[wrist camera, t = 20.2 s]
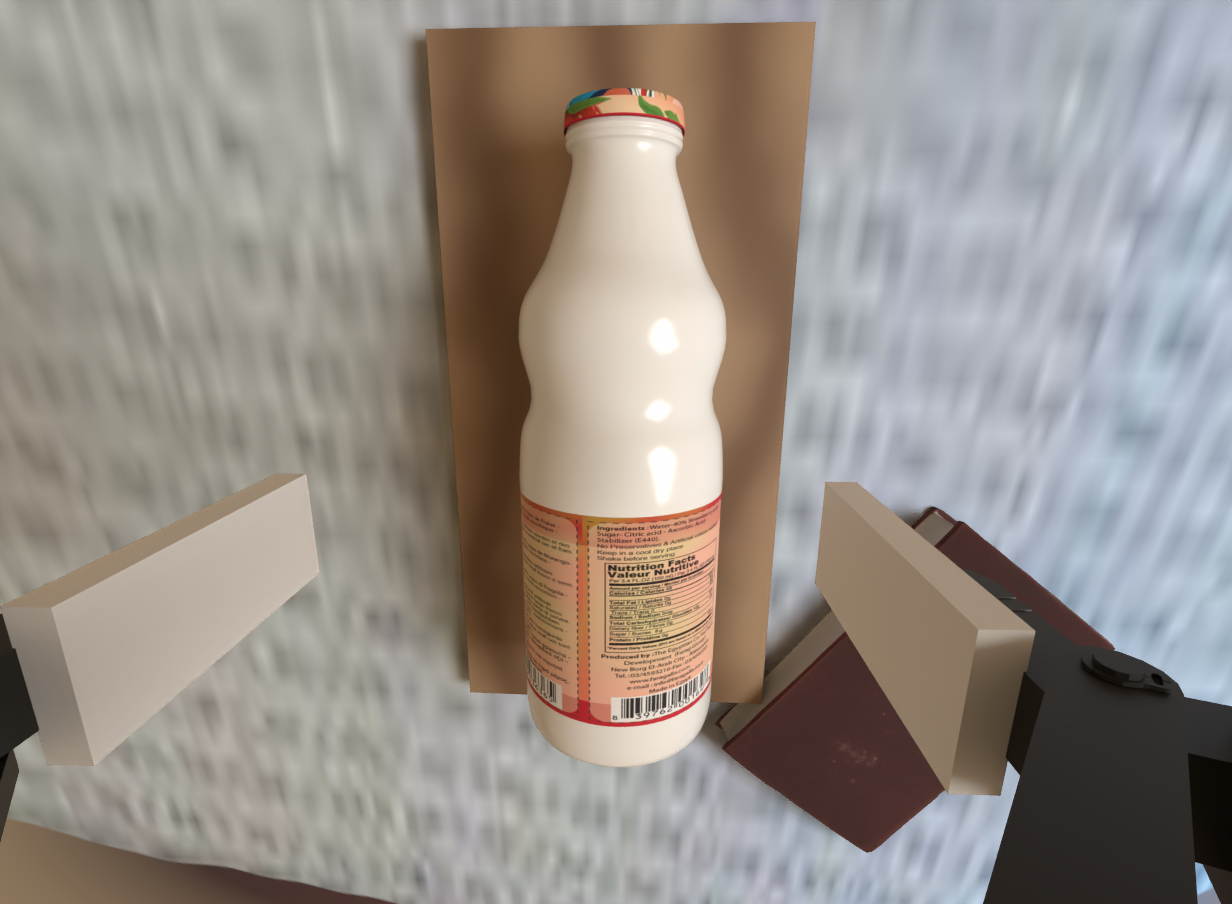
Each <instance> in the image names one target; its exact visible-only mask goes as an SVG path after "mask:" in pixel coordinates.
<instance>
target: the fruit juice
mask: <svg viewBox="0 0 1232 904" xmlns="http://www.w3.org/2000/svg"><path fill="white" fill-rule="evenodd" d="M684 135H685V122H684V112H683V107H682V105H681V103H680V102H679V101H678V100H677V99H675V98H674V97H672V96H670V95H667V94H664V93H661V92H657V91H653V90H647V89H638V88H609V89H601V90H595V91H591V92H587V93H584V94H581V95H579V96H577V97H575V98H573V99H572V100H571V101H570V102H569V103H568V105H567V107H566V111H565V119H564V136H565V140H566V144H565V147H566V149H567V152H568V153H569V154H570V155H571V156H572V170H571V175H570V180H569V184H568V187H567V191H566V195H565V198H564V202H563V206H562V209H561V213H560V216H559V220H558V223H557V226H556V230H555V233H554V236H553V239H552V242H551V245H550V248H549V251H548V253H547V256H546V259H545V261H544V263H543V265H542V267H541V269H540V271H539V272H538V274H537V276H536V278H535V279H534V281H533V283H532V284H531V286H530V288H529V289H528V291H527V293H526V295H525V297H524V299H523V302H522V305H521V310H520V315H519V346H520V351H521V355H522V359H523V362H524V365H525V369H526V372H527V375H528V379H529V382H530V386H531V404H530V408H529V411H528V414H527V416H526V419H525V421H524V424H523V428H522V433H521V443H520V470H519V477H520V495H521V519H522V550H523V581H524V611H525V641H526V671H527V695H528V701H529V707H530V712H531V715H532V718H533V720H534V723H535V725H536V727H537V729H538V730H539V732H540V733H541V735H542V736H543V737H544V738H545V739H546V740H547V741H548V742H549V743H550V744H551V745H552V746H553V747H555V748H556V749H557V750H559V751H560V752H562V753H564V754H566V755H568V756H570V757H572V758H574V759H577V760H580V761H582V762H586V763H590V764H594V765H599V766H607V767H633V766H641V765H646V764H650V763H654V762H657V761H660V760H663V759H665V758H668V757H670V756H672V755H674V754H676V753H677V752H679V751H680V750H682V749H683V748H685V747H686V746H687V745H688V744H689V743H690V742H691V741H692V740H693V739H694V738H695V737H696V736H697V734H698V733H699V731H700V730H701V728H702V726H703V724H704V721H705V719H706V716H707V713H708V708H709V703H710V697H711V680H712V662H713V643H714V624H715V605H716V586H717V567H718V547H719V528H720V509H721V495H722V483H723V450H722V435H721V429H720V425H719V422H718V420H717V417H716V415H715V412H714V408H713V402H712V396H713V387H714V384H715V380H716V377H717V374H718V371H719V368H720V365H721V362H722V359H723V355H724V351H725V345H726V315H725V309H724V305H723V302H722V300H721V297H720V295H719V293H718V291H717V289H716V288H715V286H714V284H713V282H712V280H711V279H710V277H709V274H708V272H707V270H706V268H705V265H704V263H703V260H702V257H701V254H700V251H699V248H698V245H697V242H696V239H695V235H694V232H693V228H692V225H691V221H690V218H689V214H688V211H687V207H686V203H685V199H684V196H683V192H682V189H681V186H680V182H679V178H678V175H677V169H676V157H677V156H678V155H679V154H680V153H681V150H682V148H683V143H682V141H683V137H684Z"/></svg>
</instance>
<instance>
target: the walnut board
mask: <svg viewBox="0 0 1232 904" xmlns="http://www.w3.org/2000/svg"><path fill="white" fill-rule="evenodd" d="M815 23H816V22H776V23H723V24H671V25H619V26H566V27H514V28H462V29H426V41H427V56H428V71H429V86H430V100H431V115H432V130H433V145H434V160H435V175H436V190H437V205H438V220H439V234H440V249H441V264H442V279H443V294H444V309H445V324H446V339H447V354H448V368H449V383H450V398H451V413H452V428H453V443H454V458H455V473H456V488H457V502H458V517H459V532H460V547H461V562H462V577H463V592H464V607H465V622H466V637H467V651H468V666H469V681H470V692H480V693H504V694H527V671H526V641H525V611H524V581H523V550H522V519H521V495H520V477H519V470H520V443H521V433H522V428H523V424H524V421H525V419H526V416H527V414H528V411H529V408H530V404H531V386H530V382H529V379H528V375H527V372H526V369H525V365H524V362H523V359H522V355H521V351H520V346H519V315H520V310H521V305H522V302H523V299H524V297H525V295H526V293H527V291H528V289H529V288H530V286H531V284H532V283H533V281H534V279H535V278H536V276H537V274H538V272H539V271H540V269H541V267H542V265H543V263H544V261H545V259H546V256H547V253H548V251H549V248H550V245H551V242H552V239H553V236H554V233H555V230H556V226H557V223H558V220H559V216H560V213H561V209H562V206H563V202H564V198H565V195H566V191H567V187H568V184H569V180H570V175H571V170H572V156H571V155H570V154H569V153H568V152H567V149H566V147H565V144H566V140H565V136H564V119H565V111H566V107H567V105H568V103H569V102H570V101H571V100H572V99H573V98H575V97H577V96H579V95H581V94H584V93H587V92H591V91H595V90H601V89H609V88H638V89H647V90H653V91H657V92H661V93H664V94H667V95H670V96H672V97H674V98H675V99H677V100H678V101H679V102H680V103H681V105H682V107H683V112H684V122H685V135H684V137H683V141H682V143H683V148H682V150H681V153H680V154H679V155H678V156H677V157H676V169H677V175H678V178H679V182H680V186H681V189H682V192H683V196H684V199H685V203H686V207H687V211H688V214H689V218H690V221H691V225H692V228H693V232H694V235H695V239H696V242H697V245H698V248H699V251H700V254H701V257H702V260H703V263H704V265H705V268H706V270H707V272H708V274H709V277H710V279H711V280H712V282H713V284H714V286H715V288H716V289H717V291H718V293H719V295H720V297H721V300H722V302H723V305H724V309H725V315H726V345H725V351H724V355H723V359H722V362H721V365H720V368H719V371H718V374H717V377H716V380H715V384H714V387H713V396H712V402H713V408H714V412H715V415H716V417H717V420H718V422H719V425H720V429H721V435H722V450H723V483H722V495H721V509H720V528H719V547H718V567H717V586H716V605H715V624H714V643H713V662H712V680H711V697H710V702H727V703H751V704H761V702H762V689H763V677H764V664H765V651H766V639H767V626H768V614H769V601H770V589H771V576H772V564H773V551H774V538H775V526H776V513H777V501H778V488H779V476H780V463H781V450H782V438H783V425H784V413H785V400H786V388H787V375H788V363H789V350H790V337H791V325H792V312H793V300H794V287H795V275H796V262H797V250H798V237H799V224H800V212H801V199H802V187H803V174H804V162H805V149H806V136H807V124H808V111H809V99H810V86H811V74H812V61H813V49H814V36H815Z"/></svg>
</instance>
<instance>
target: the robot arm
mask: <svg viewBox="0 0 1232 904" xmlns="http://www.w3.org/2000/svg"><path fill="white" fill-rule="evenodd" d="M319 573H320V572H319V564H318V557H317V550H316V543H315V535H314V528H313V521H312V513H311V506H310V499H309V492H308V484H307V477H306V474H275V475H273V476H271V477H268V478H266V479H264V480H262V481H260V482H258V483H256V484H254V485H252V486H250V487H248V488H246V489H244V490H241V491H239V492H237V493H235V494H233V495H231V496H229V497H227V498H225V499H223V500H221V501H219V502H217V503H214V504H212V505H210V506H208V507H206V508H204V509H202V510H200V511H198V512H196V513H194V514H192V515H190V516H187V517H185V518H183V519H181V520H179V521H177V522H175V523H173V524H171V525H169V526H167V527H165V528H162V529H160V530H158V531H156V532H154V533H152V534H150V535H148V536H146V537H144V538H142V539H140V540H138V541H135V542H133V543H131V544H129V545H127V546H125V547H123V548H121V549H119V550H117V551H115V552H113V553H111V554H108V555H106V556H104V557H102V558H100V559H98V560H96V561H94V562H92V563H90V564H88V565H86V566H84V567H81V568H79V569H77V570H75V571H73V572H71V573H69V574H67V575H65V576H63V577H61V578H59V579H57V580H54V581H52V582H50V583H48V584H46V585H44V586H42V587H40V588H38V589H36V590H34V591H32V592H30V593H27V594H25V595H23V596H21V597H19V598H17V599H15V600H13V601H11V602H9V603H7V604H5V605H3V606H0V608H1V611H2V614H0V841H1V837H2V834H3V830H4V826H5V822H6V819H7V815H8V811H9V807H10V803H11V800H12V796H13V792H14V788H15V785H16V781H17V777H18V773H19V768H18V764H17V760H16V757H15V754H14V751H13V749H14V748H15V747H16V746H18V745H19V744H21V743H22V742H23V741H25V740H26V739H28V738H29V737H30V736H32V735H33V734H35V733H36V732H38V736H39V739H40V742H41V746H42V749H43V753H44V756H45V759H46V763H47V764H48V765H79V766H95V765H96V764H97V763H98V762H100V761H101V760H102V759H103V758H104V757H105V756H107V755H108V754H109V753H110V752H111V751H112V750H114V749H115V748H116V747H117V746H118V745H119V744H121V743H122V742H123V741H124V740H125V739H126V738H128V737H129V736H130V735H131V734H132V733H133V732H135V731H136V730H137V729H138V728H139V727H140V726H142V725H143V724H144V723H145V722H146V721H147V720H148V719H150V718H151V717H152V716H153V715H154V714H155V713H157V712H158V711H159V710H160V709H161V708H162V707H164V706H165V705H166V704H167V703H168V702H169V701H171V700H172V699H173V698H174V697H175V696H176V695H178V694H179V693H180V692H181V691H182V690H183V689H185V688H186V687H187V686H188V685H189V684H190V683H192V682H193V681H194V680H195V679H196V678H197V677H199V676H200V675H201V674H202V673H203V672H204V671H206V670H207V669H208V668H209V667H210V666H211V665H213V664H214V663H215V662H216V661H217V660H218V659H220V658H221V657H222V656H223V655H224V654H225V653H227V652H228V651H229V650H230V649H231V648H232V647H234V646H235V645H236V644H237V643H238V642H239V641H241V640H242V639H243V638H244V637H245V636H246V635H248V634H249V633H250V632H251V631H252V630H253V629H254V628H256V627H257V626H258V625H259V624H260V623H261V622H263V621H264V620H265V619H266V618H267V617H268V616H270V615H271V614H272V613H273V612H274V611H275V610H277V609H278V608H279V607H280V606H281V605H282V604H284V603H285V602H286V601H287V600H288V599H289V598H291V597H292V596H293V595H294V594H295V593H296V592H298V591H299V590H300V589H301V588H302V587H303V586H305V585H306V584H307V583H308V582H309V581H310V580H312V579H313V578H314V577H315V576H316V575H317V574H319ZM815 584H816V585H817V587H818V588H819V590H820V592H821V593H822V595H823V596H824V598H825V599H826V601H827V603H828V604H829V606H830V607H831V609H832V611H833V612H834V614H835V615H836V617H837V619H838V620H839V622H840V623H841V625H842V626H843V628H844V630H845V631H846V633H847V634H848V636H849V638H850V639H851V641H852V642H853V644H854V646H855V647H856V649H857V650H858V652H859V653H860V655H861V657H862V658H863V660H864V661H865V663H866V665H867V666H868V668H869V669H870V671H871V673H872V674H873V676H874V677H875V679H876V681H877V682H878V684H879V685H880V687H881V688H882V690H883V692H884V693H885V695H886V696H887V698H888V700H889V701H890V703H891V704H892V706H893V708H894V709H895V711H896V712H897V714H898V715H899V717H900V719H901V720H902V722H903V723H904V725H905V727H906V728H907V730H908V731H909V733H910V735H911V736H912V738H913V739H914V741H915V742H916V744H917V746H918V747H919V749H920V750H921V752H922V754H923V755H924V757H925V758H926V760H927V762H928V763H929V765H930V766H931V768H932V769H933V771H934V773H935V774H936V776H937V777H938V779H939V781H940V782H941V784H942V785H943V787H944V789H945V790H946V792H947V793H948V794H967V795H997V796H1000V795H1001V790H1002V785H1003V781H1004V776H1005V771H1006V767H1007V762H1008V761H1009V762H1010V763H1011V765H1012V766H1013V767H1014V768H1015V770H1016V771H1017V772H1018V773H1019V775H1020V779H1019V782H1018V786H1017V789H1016V793H1015V796H1014V799H1013V803H1012V806H1011V810H1010V813H1009V817H1008V820H1007V823H1006V827H1005V830H1004V834H1003V837H1002V841H1001V844H1000V847H999V851H998V854H997V858H996V861H995V865H994V868H993V872H992V875H991V878H990V882H989V885H988V889H987V892H986V896H985V899H984V902H983V904H1198V903H1197V888H1196V872H1195V862H1197V863H1201V864H1203V866H1204V868H1205V870H1206V872H1207V874H1208V877H1209V879H1210V881H1211V883H1212V885H1213V887H1214V889H1215V891H1216V894H1217V896H1218V898H1219V900H1220V902H1221V904H1232V706H1227V705H1222V704H1217V703H1212V702H1207V701H1201V700H1196V699H1191V698H1186V697H1184V694H1183V692H1182V690H1181V689H1180V687H1179V685H1178V683H1176V682H1175V681H1174V680H1173V679H1171V678H1170V677H1169V676H1168V675H1167V674H1165V673H1164V672H1163V671H1161V670H1159V669H1157V668H1155V667H1153V666H1152V665H1150V664H1148V663H1146V662H1144V661H1142V660H1139V659H1137V658H1134V657H1131V656H1129V655H1126V654H1123V653H1121V652H1118V651H1114V650H1109V649H1105V648H1101V647H1097V646H1086V645H1076V644H1075V643H1074V642H1072V641H1071V640H1070V639H1068V638H1067V637H1066V636H1065V635H1063V634H1062V633H1061V632H1060V631H1058V630H1057V629H1056V628H1054V627H1053V626H1052V625H1051V624H1049V623H1048V622H1047V621H1046V620H1044V619H1043V618H1042V617H1040V616H1039V615H1038V614H1037V613H1032V610H1031V609H1030V608H1029V607H1028V606H1026V605H1025V604H1024V603H1023V602H1021V601H1020V600H1016V597H1015V596H1014V595H1012V594H1011V593H1010V592H1009V591H1007V590H1006V589H1005V588H1003V587H1002V586H1001V585H1000V584H998V583H997V582H995V581H993V580H991V579H989V578H986V577H984V576H982V575H980V574H978V573H976V572H974V571H972V570H962V569H960V568H959V567H958V566H957V565H956V564H954V563H953V562H952V561H951V560H950V559H948V558H947V557H946V556H945V555H944V554H942V553H941V552H940V551H939V550H937V549H936V548H935V547H934V546H933V545H931V544H930V543H929V542H928V541H927V540H925V539H924V538H923V537H922V536H921V535H919V534H918V533H917V532H916V531H915V530H913V529H912V528H911V527H910V526H909V525H907V524H906V523H905V522H904V521H903V520H901V519H900V518H899V517H898V516H897V515H895V514H894V513H893V512H892V511H891V510H889V509H888V508H887V507H886V506H884V505H883V504H882V503H881V502H880V501H878V500H877V499H876V498H875V497H874V496H872V495H871V494H870V493H869V492H868V491H866V490H865V489H864V488H863V487H862V486H860V485H859V484H858V483H857V482H825V491H824V501H823V511H822V521H821V530H820V540H819V550H818V560H817V570H816V579H815Z"/></svg>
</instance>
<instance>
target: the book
mask: <svg viewBox="0 0 1232 904" xmlns="http://www.w3.org/2000/svg"><path fill="white" fill-rule="evenodd" d="M911 528H912V529H913V530H915V531H916V532H917V533H918V534H919V535H921V536H922V537H923V538H924V539H925V540H927V541H928V542H929V543H930V544H931V545H933V546H934V547H935V548H936V549H937V550H939V551H940V552H941V553H942V554H944V555H945V556H946V557H947V558H948V559H950V560H951V561H952V562H953V563H954V564H956V565H957V566H958V567H959V568H960V569H962V570H972V571H974V572H976V573H978V574H980V575H982V576H984V577H986V578H989V579H991V580H993V581H995V582H997V583H998V584H1000V585H1001V586H1002V587H1003V588H1005V589H1006V590H1007V591H1009V592H1010V593H1011V594H1012V595H1014V596H1015V597H1016V600H1020V601H1021V602H1023V603H1024V604H1025V605H1026V606H1028V607H1029V608H1030V609H1031V610H1032V613H1037V614H1038V615H1039V616H1040V617H1042V618H1043V619H1044V620H1046V621H1047V622H1048V623H1049V624H1051V625H1052V626H1053V627H1054V628H1056V629H1057V630H1058V631H1060V632H1061V633H1062V634H1063V635H1065V636H1066V637H1067V638H1068V639H1070V640H1071V641H1072V642H1074V643H1075V644H1076V645H1086V646H1097V647H1101V648H1105V649H1109V650H1114V649H1115V648H1114V647H1113V645H1112V644H1111V643H1110V642H1109V641H1108V640H1107V639H1106V638H1104V637H1103V636H1102V635H1100V634H1099V633H1098V632H1097V631H1095V630H1094V629H1093V628H1092V627H1091V626H1090V625H1088V624H1087V623H1086V622H1085V621H1084V620H1082V619H1081V618H1080V617H1079V616H1078V615H1076V614H1075V613H1074V612H1073V611H1072V610H1070V609H1069V608H1068V607H1067V606H1066V605H1064V604H1063V603H1062V602H1061V601H1060V600H1059V599H1058V598H1056V597H1055V596H1054V595H1053V594H1051V593H1050V592H1049V591H1048V590H1046V589H1045V588H1044V587H1043V586H1041V585H1040V584H1039V583H1038V582H1037V581H1035V580H1034V579H1033V578H1032V577H1031V576H1029V575H1028V574H1027V573H1026V572H1024V571H1023V570H1022V569H1020V568H1019V567H1018V566H1016V565H1015V564H1014V563H1013V562H1011V561H1010V560H1009V559H1008V558H1007V557H1006V556H1004V555H1003V554H1002V553H1001V552H1000V551H998V550H997V549H996V548H995V547H993V546H992V545H991V544H990V543H988V542H987V541H986V540H984V539H983V538H982V537H981V536H980V535H979V534H977V533H976V532H975V531H974V530H973V529H971V528H970V527H969V526H968V525H967V524H965V523H964V522H961V521H958V522H957V521H955V520H954V519H953V518H952V517H950V516H949V515H948V514H946V513H945V512H944V511H942V510H940V509H938V508H936V507H933V508H932V509H931V510H930V511H928V512H927V513H926V514H925V515H924V516H923V517H922V518H921V519H920V520H919V521H918V522H917V523H915V524H914V525H913V526H912V527H911ZM715 724H716V725H717V726H719V727H720V728H722V729H723V730H724V732H725V735H726V738H727V741H728V742H727V743H726V744H725V745H724V746H723V748H722V749H723V750H724V751H726V752H727V753H728V754H729V755H730V756H731V757H733V758H734V759H735V760H736V761H738V762H739V763H740V764H741V765H743V766H744V767H745V768H746V769H747V770H749V771H750V772H751V773H753V774H754V775H755V776H757V777H758V778H759V779H761V780H762V781H763V782H765V783H766V784H767V785H769V786H770V787H772V788H774V789H775V790H777V791H779V792H780V793H782V794H783V795H784V796H785V797H787V798H788V799H789V800H791V801H792V802H793V803H795V804H796V805H797V806H799V807H800V808H802V809H803V810H805V811H806V812H808V813H809V814H811V815H812V816H813V817H815V818H816V819H818V820H819V821H820V822H822V823H823V824H825V825H826V826H827V827H829V828H830V829H831V830H833V831H834V832H836V833H837V834H839V835H840V836H842V837H843V838H845V839H846V840H848V841H849V842H851V843H852V844H854V845H855V846H857V847H858V848H860V849H862V850H863V851H865V852H867V853H868V852H872V851H873V850H875V849H876V848H878V847H879V846H880V845H882V844H883V843H884V842H885V841H886V840H887V839H888V838H889V837H890V836H891V835H893V834H894V833H895V832H896V831H897V830H898V829H900V828H901V827H902V826H903V825H904V824H906V823H907V822H908V821H909V820H910V819H911V818H913V817H914V816H915V815H916V814H917V813H919V812H920V811H921V810H922V809H923V808H925V807H926V806H927V805H928V804H929V803H931V802H932V801H933V800H934V799H936V798H937V797H938V795H939V794H940V793H942V792H943V791H944V790H945V789H944V787H943V785H942V784H941V782H940V781H939V779H938V777H937V776H936V774H935V773H934V771H933V769H932V768H931V766H930V765H929V763H928V762H927V760H926V758H925V757H924V755H923V754H922V752H921V750H920V749H919V747H918V746H917V744H916V742H915V741H914V739H913V738H912V736H911V735H910V733H909V731H908V730H907V728H906V727H905V725H904V723H903V722H902V720H901V719H900V717H899V715H898V714H897V712H896V711H895V709H894V708H893V706H892V704H891V703H890V701H889V700H888V698H887V696H886V695H885V693H884V692H883V690H882V688H881V687H880V685H879V684H878V682H877V681H876V679H875V677H874V676H873V674H872V673H871V671H870V669H869V668H868V666H867V665H866V663H865V661H864V660H863V658H862V657H861V655H860V653H859V652H858V650H857V649H856V647H855V646H854V644H853V642H852V641H851V639H850V638H849V636H848V634H847V633H846V631H845V630H844V628H843V626H842V625H841V623H840V622H839V620H838V619H837V617H836V615H835V614H834V612H833V611H832V610H831V611H830V612H829V613H828V614H827V615H826V616H825V617H824V618H823V619H822V620H821V621H820V622H819V623H818V624H817V625H816V626H815V627H814V628H813V629H812V631H810V632H809V633H808V634H807V635H806V636H805V637H804V638H803V639H802V640H801V641H800V643H799V644H798V645H797V646H796V647H795V648H794V649H793V650H792V651H791V652H790V653H789V654H788V655H787V656H786V657H785V658H784V659H783V660H782V661H781V662H780V663H779V664H778V665H777V666H776V667H775V668H774V669H773V670H772V671H771V672H770V673H769V674H768V675H767V676H766V677H765V678H764V679H763V689H762V702H761V704H751V703H737V704H735V705H734V706H733V707H732V708H731V709H730V710H728V711H727V712H726V713H725V714H724V715H723V716H721V718H720V719H719V720H718V721H717V722H716V723H715Z"/></svg>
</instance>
